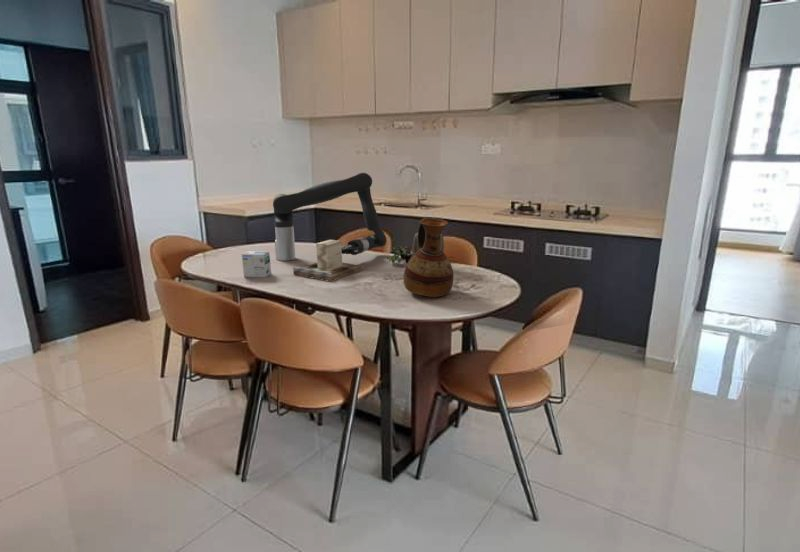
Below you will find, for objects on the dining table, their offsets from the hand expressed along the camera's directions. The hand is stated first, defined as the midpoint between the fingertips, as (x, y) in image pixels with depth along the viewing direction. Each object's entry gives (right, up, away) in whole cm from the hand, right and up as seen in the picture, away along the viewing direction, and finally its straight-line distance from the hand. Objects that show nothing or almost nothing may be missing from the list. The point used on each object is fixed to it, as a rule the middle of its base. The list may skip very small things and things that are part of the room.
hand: (336, 252), depth 220 cm
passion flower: (+31, -6, +10) cm, 33 cm away
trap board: (-3, -9, -3) cm, 10 cm away
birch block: (-3, -7, -2) cm, 8 cm away
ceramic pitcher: (+41, -18, -34) cm, 57 cm away
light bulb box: (-35, -11, -8) cm, 37 cm away
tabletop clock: (+43, -8, 0) cm, 44 cm away
